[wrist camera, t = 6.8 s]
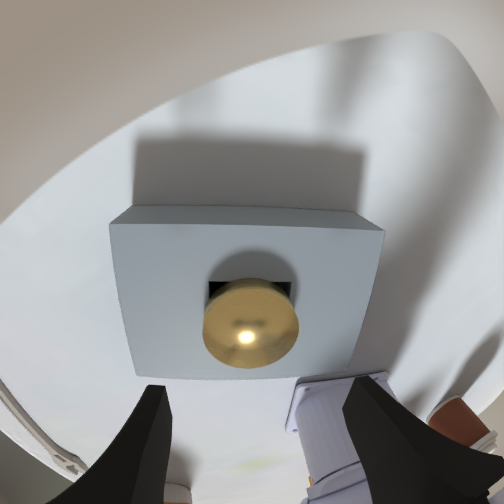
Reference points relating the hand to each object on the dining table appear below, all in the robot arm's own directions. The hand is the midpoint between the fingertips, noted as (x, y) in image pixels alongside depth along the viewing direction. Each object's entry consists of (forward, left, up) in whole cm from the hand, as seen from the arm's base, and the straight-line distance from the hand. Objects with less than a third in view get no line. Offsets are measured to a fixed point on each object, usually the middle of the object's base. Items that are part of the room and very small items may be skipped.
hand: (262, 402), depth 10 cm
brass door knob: (0, 0, -10) cm, 10 cm away
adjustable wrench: (+28, +25, -10) cm, 39 cm away
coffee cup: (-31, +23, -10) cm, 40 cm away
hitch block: (0, 0, -10) cm, 10 cm away
